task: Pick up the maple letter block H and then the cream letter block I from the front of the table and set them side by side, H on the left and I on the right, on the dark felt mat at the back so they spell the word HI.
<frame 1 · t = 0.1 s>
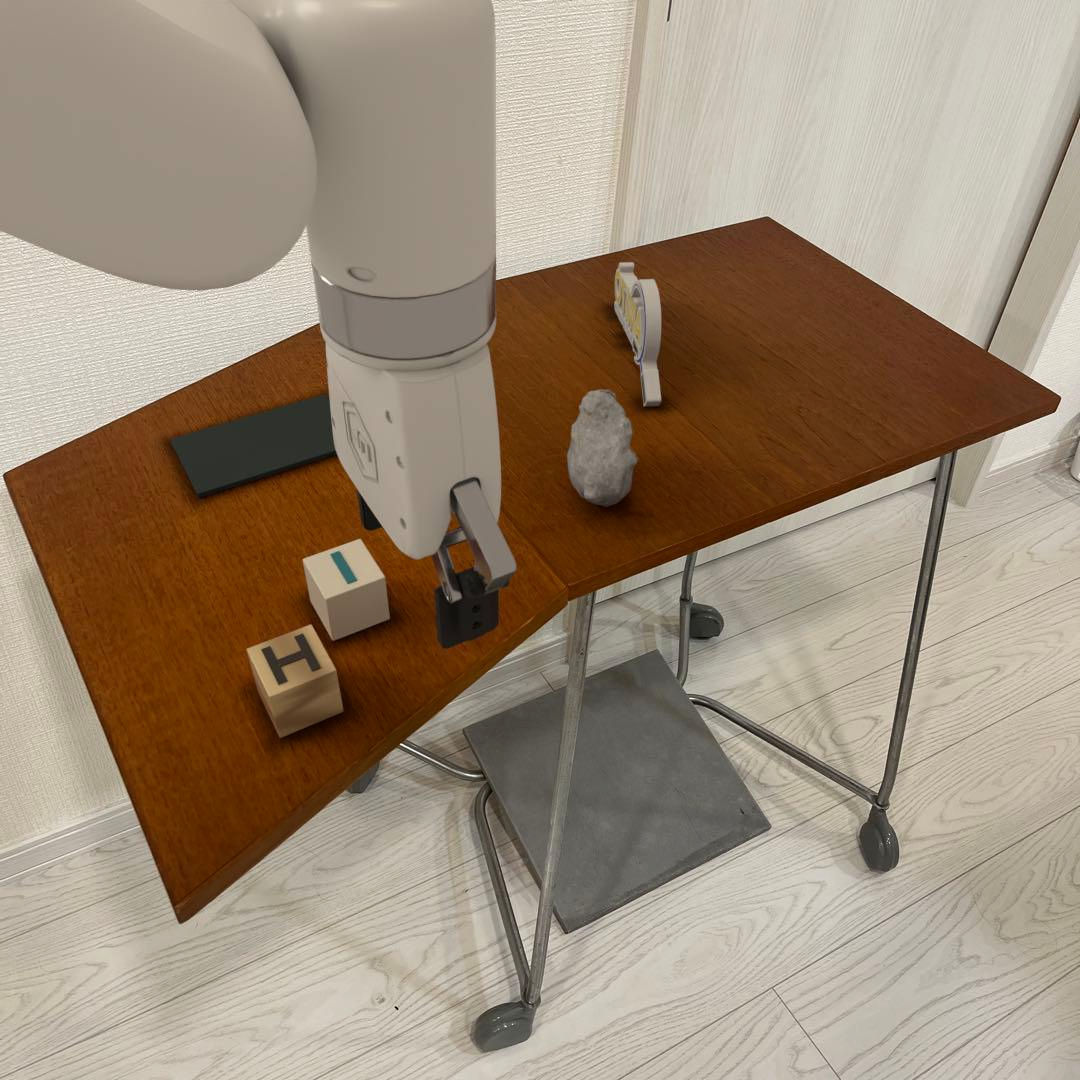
hand: (426, 574, 54), 16 cm above the table, tool pointing down, fingers open, 9 cm apart
stone: (602, 496, 83), on the table
letter i: (349, 610, 73), on the table
word mat: (266, 445, 87), on the table
letter h: (300, 701, 67), on the table
decorative sign: (634, 355, 98), on the table
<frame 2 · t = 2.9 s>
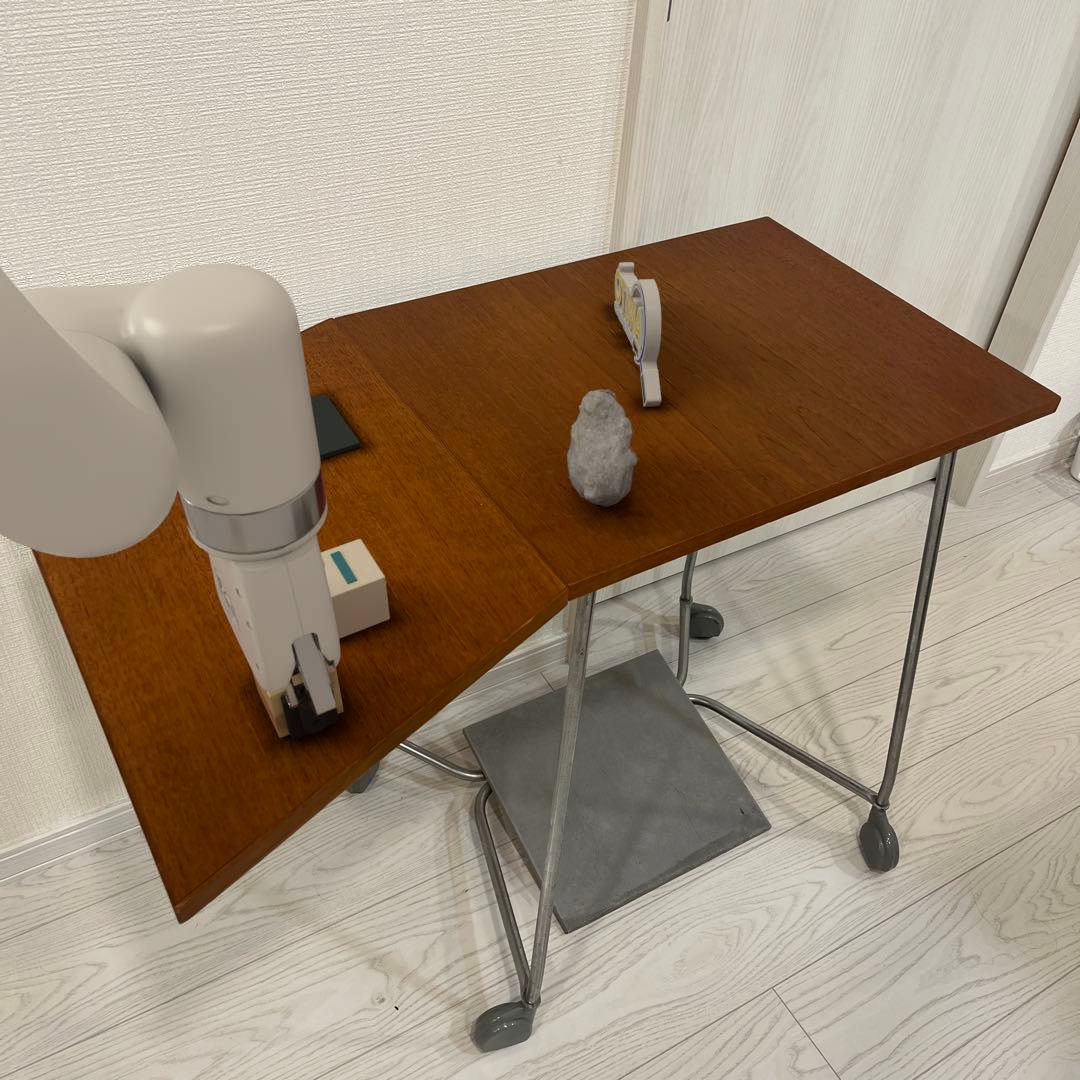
hand: (299, 697, 67), 0 cm above the table, tool pointing down, fingers closed on letter h, 4 cm apart
letter h: (300, 701, 67), on the table, touching gripper
everything else where it was.
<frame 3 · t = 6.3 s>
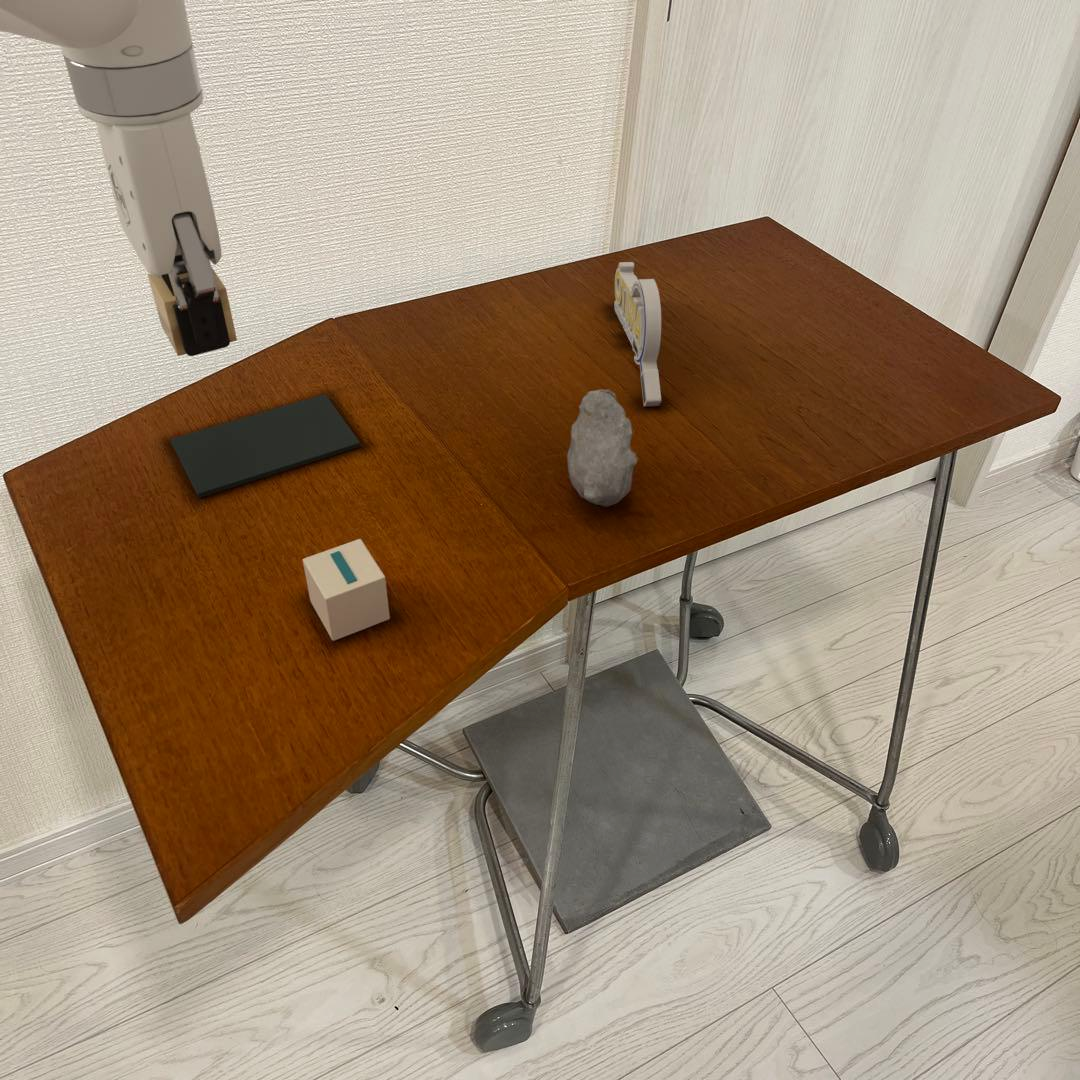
hand: (197, 330, 75), 13 cm above the table, tool pointing down, fingers closed on letter h, 4 cm apart
letter h: (199, 333, 75), point 13 cm above the table, touching gripper
everything else where it was.
when the fingers open (1 cm above the table, at t = 9.6 s): letter h stays where it is, resting on word mat.
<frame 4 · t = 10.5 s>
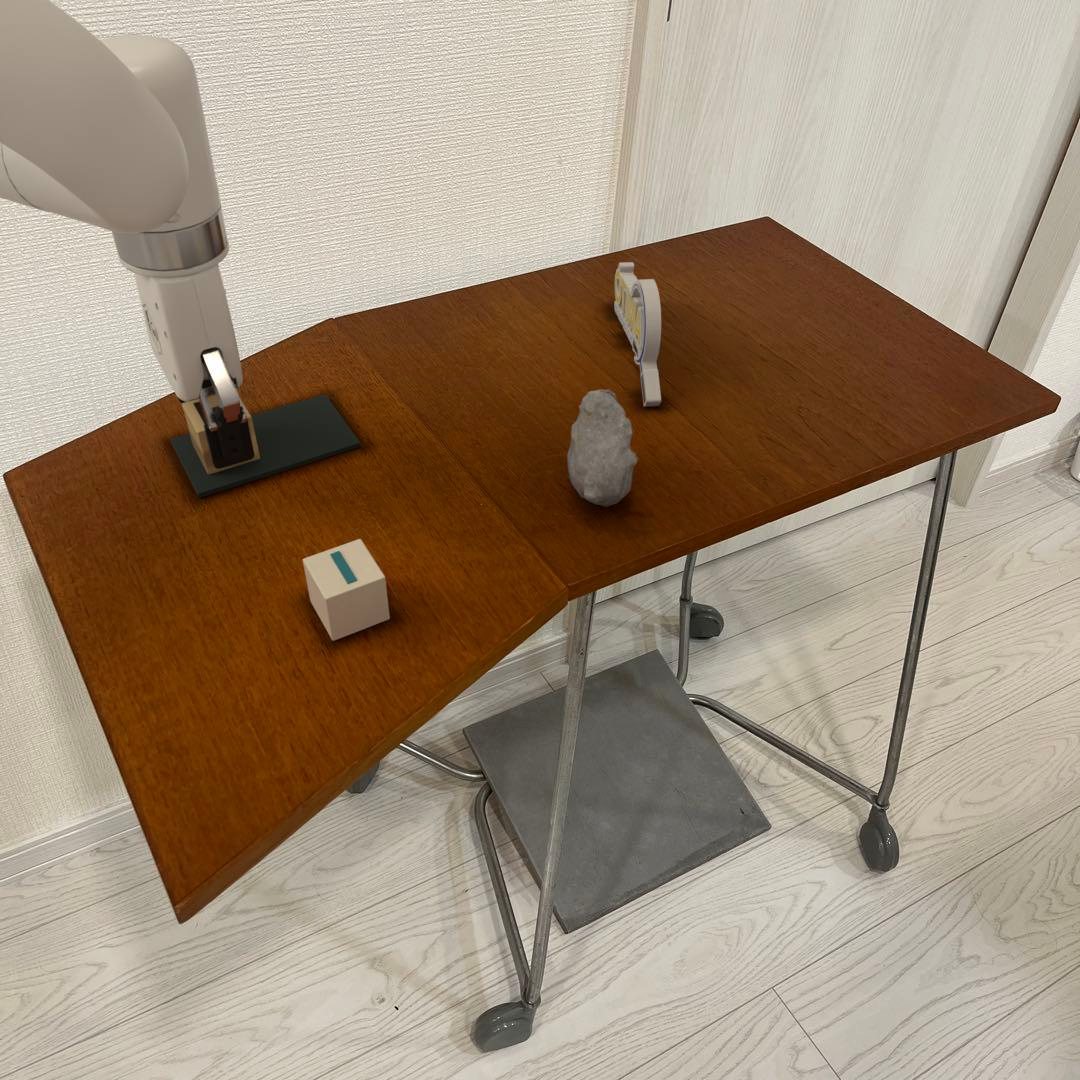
hand: (215, 428, 83), 3 cm above the table, tool pointing down, fingers open, 9 cm apart
letter h: (226, 452, 85), resting on word mat
everything else where it was.
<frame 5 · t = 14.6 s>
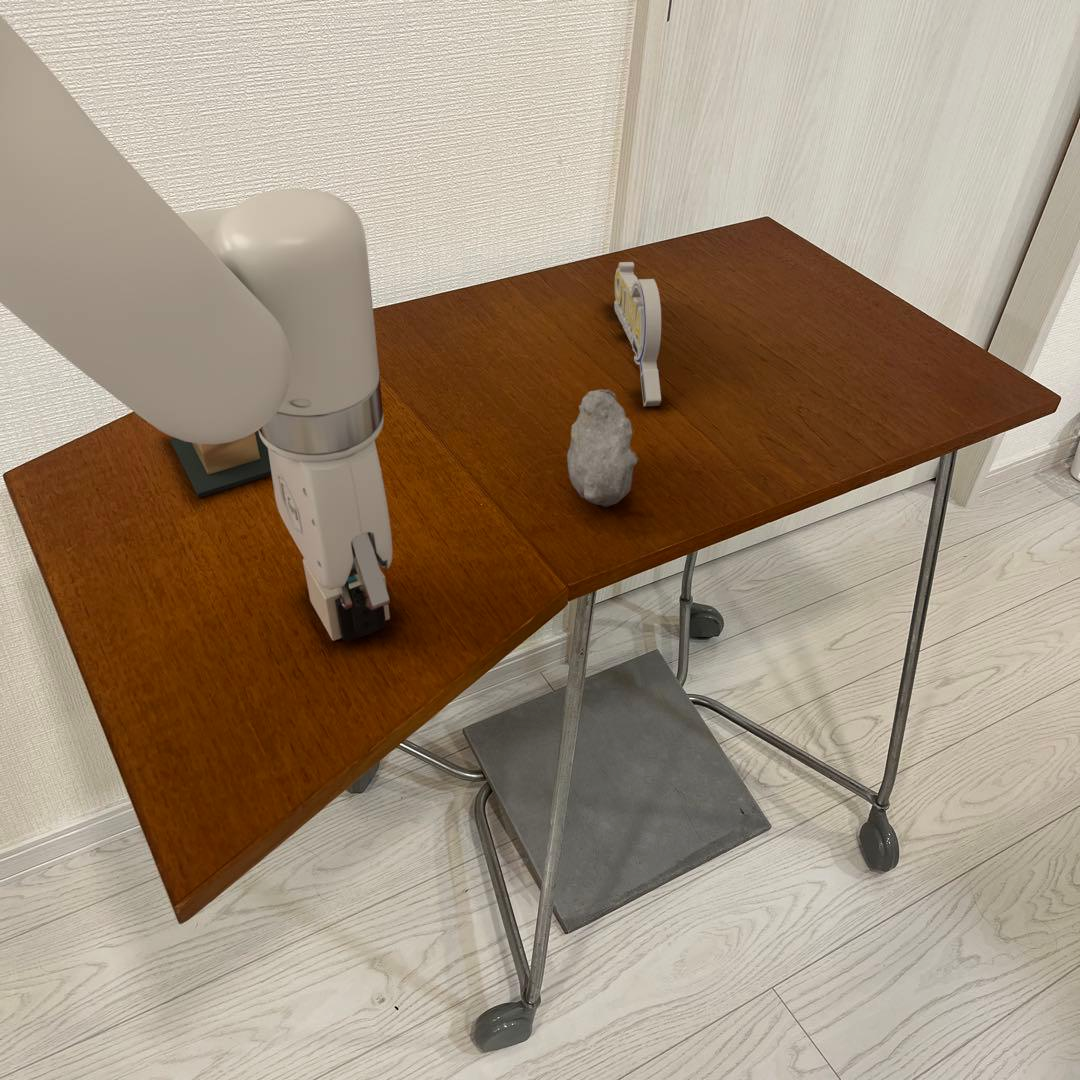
hand: (349, 606, 73), 0 cm above the table, tool pointing down, fingers closed on letter i, 4 cm apart
letter i: (350, 610, 73), on the table, touching gripper
everything else where it was.
when the fingers open (1 cm above the table, at t = 20.8 s): letter i stays where it is, resting on word mat.
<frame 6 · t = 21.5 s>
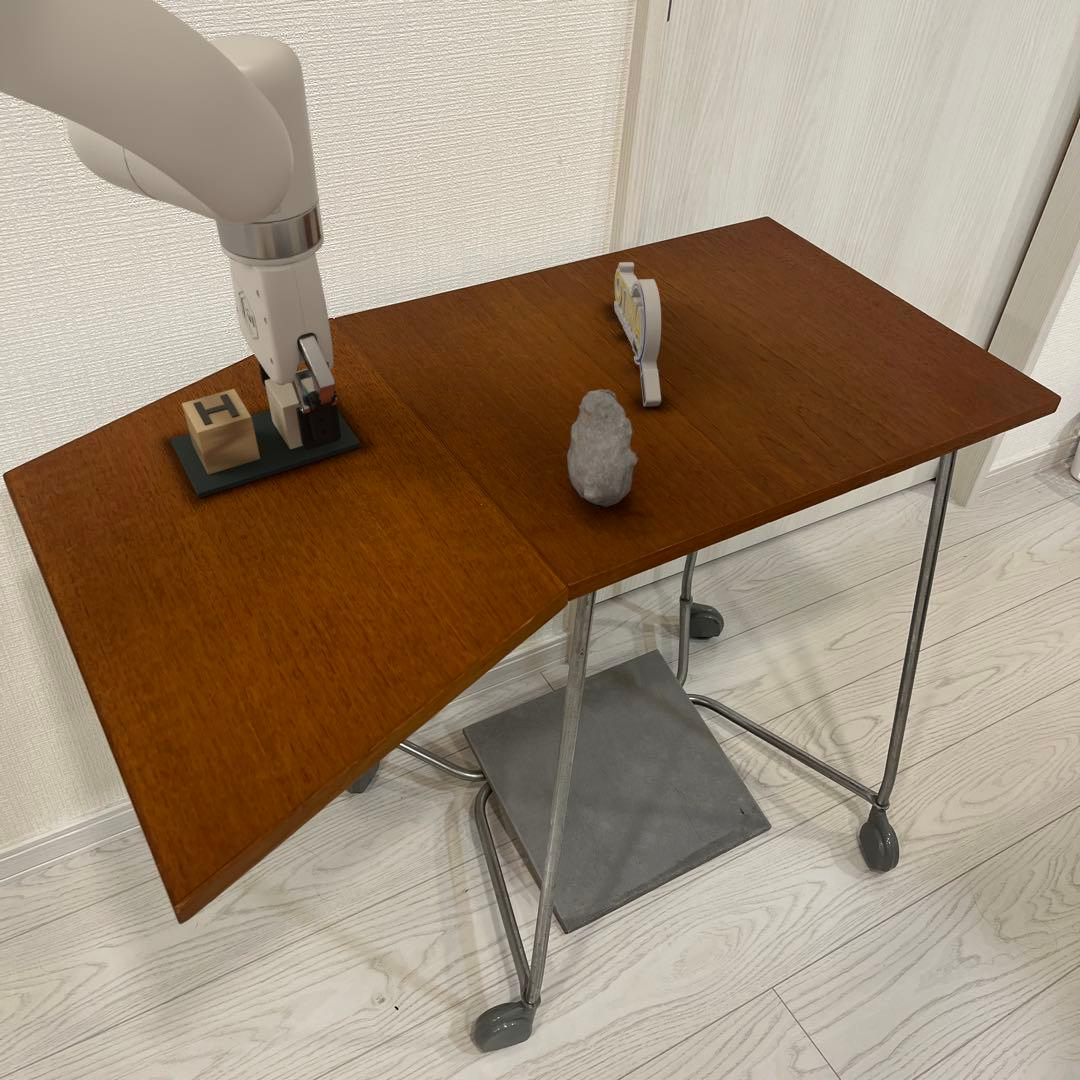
hand: (300, 411, 86), 2 cm above the table, tool pointing down, fingers open, 9 cm apart
letter i: (305, 428, 88), resting on word mat
everything else where it was.
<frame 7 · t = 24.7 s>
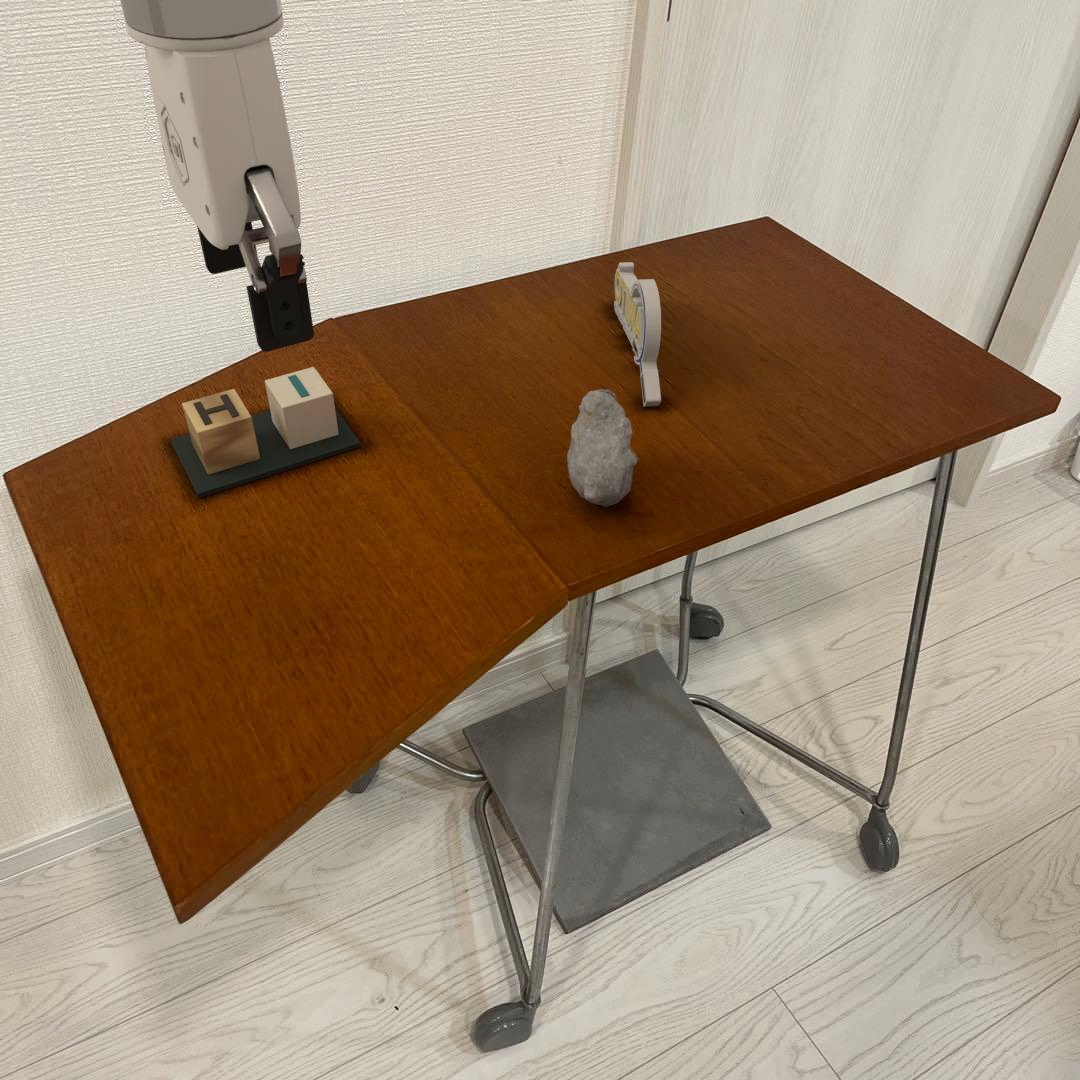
hand: (258, 303, 61), 22 cm above the table, tool pointing down, fingers open, 9 cm apart
nothing on the table moved.
at the end: letter h 0.4 cm from the target spot on the word mat, point 0.5 cm above the word mat's base; letter i 0.1 cm from the target spot on the word mat, point 0.5 cm above the word mat's base; letter i tilted 0° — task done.
